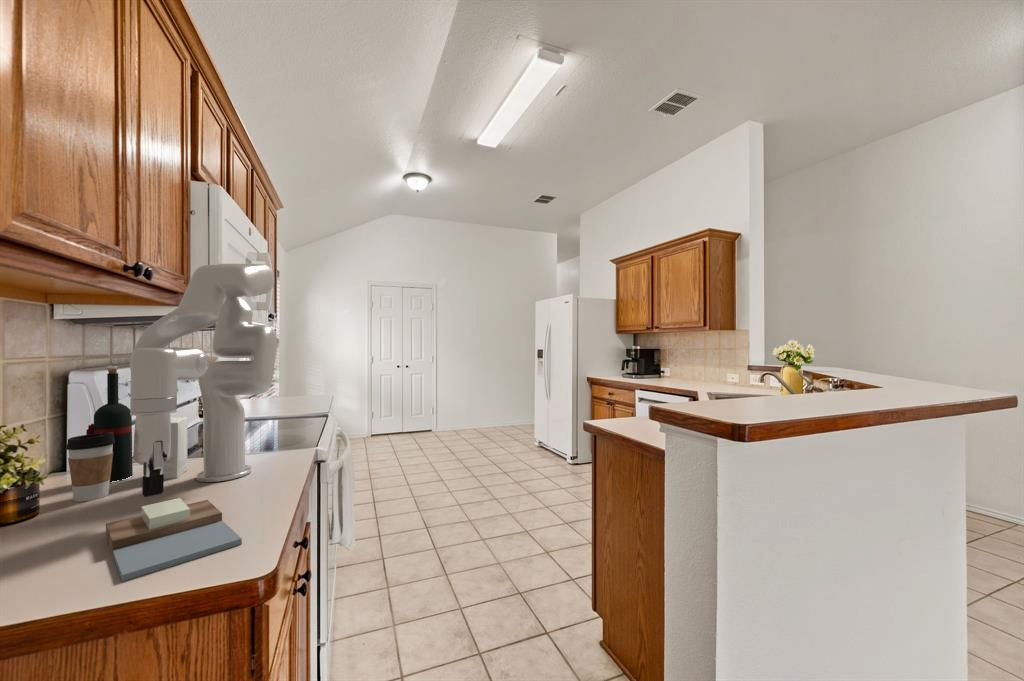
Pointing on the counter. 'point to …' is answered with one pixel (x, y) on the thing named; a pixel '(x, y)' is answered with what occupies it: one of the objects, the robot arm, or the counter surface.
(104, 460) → the coffee cup
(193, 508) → the walnut deck
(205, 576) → the counter surface
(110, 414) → the wine bottle
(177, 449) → the skincare box
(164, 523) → the sage tile
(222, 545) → the slate mat
